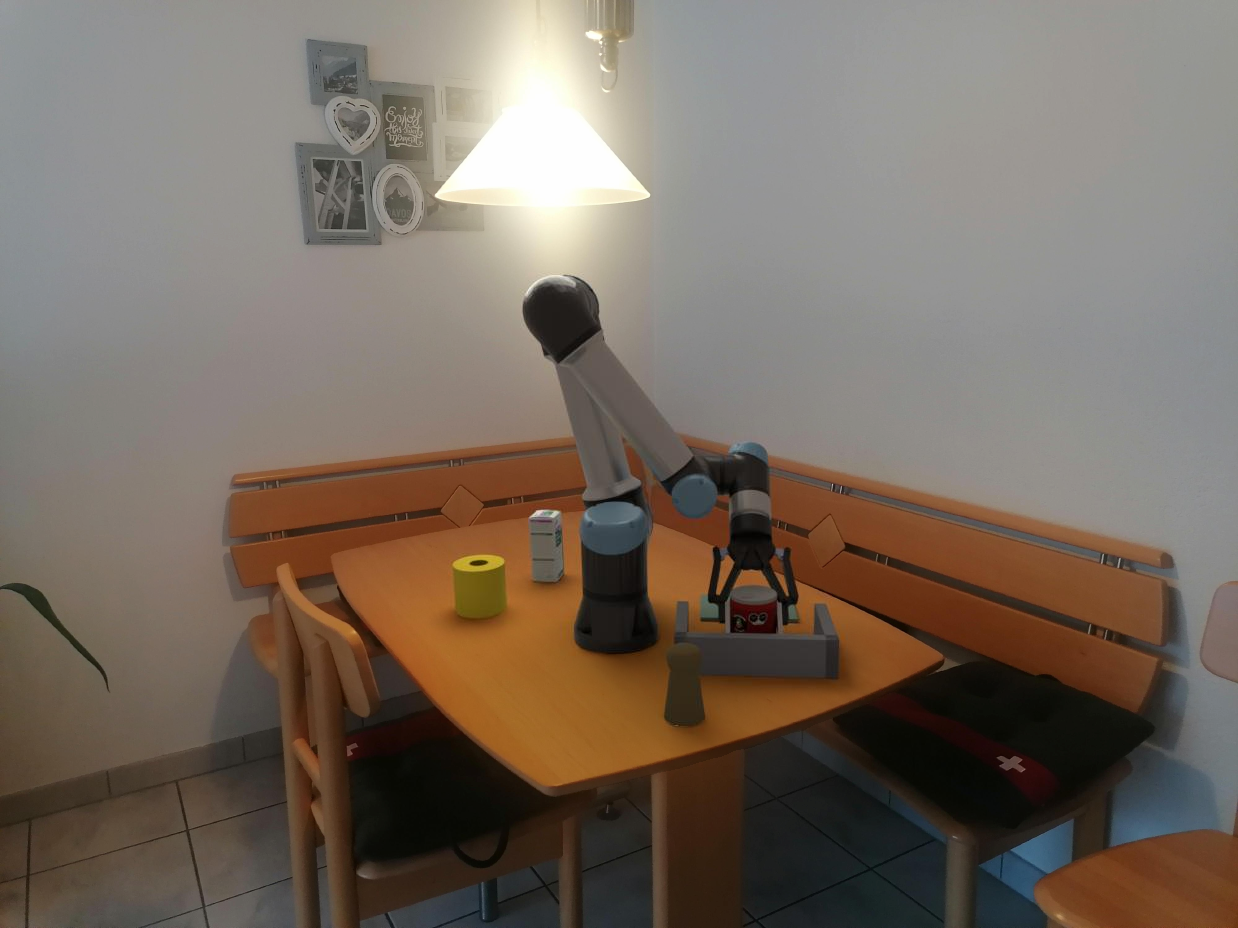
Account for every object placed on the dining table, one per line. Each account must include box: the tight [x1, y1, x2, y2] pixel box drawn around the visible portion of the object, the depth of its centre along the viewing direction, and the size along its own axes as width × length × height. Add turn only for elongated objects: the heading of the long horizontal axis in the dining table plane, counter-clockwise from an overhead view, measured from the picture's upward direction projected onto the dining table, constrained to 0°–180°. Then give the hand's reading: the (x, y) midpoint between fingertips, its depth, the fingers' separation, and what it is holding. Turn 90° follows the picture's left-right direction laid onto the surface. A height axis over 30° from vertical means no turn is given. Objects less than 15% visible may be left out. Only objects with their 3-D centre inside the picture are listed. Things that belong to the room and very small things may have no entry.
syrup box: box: [528, 509, 565, 583], centre depth 183 cm, size 6×6×14 cm
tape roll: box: [452, 554, 508, 619], centre depth 167 cm, size 10×10×9 cm
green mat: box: [699, 593, 799, 623], centre depth 164 cm, size 18×12×1 cm, turn 84°
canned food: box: [730, 584, 777, 634], centre depth 144 cm, size 8×8×11 cm
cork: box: [663, 643, 706, 727], centre depth 123 cm, size 6×6×11 cm
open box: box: [673, 600, 840, 679], centre depth 143 cm, size 26×16×6 cm, turn 84°
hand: (754, 641), depth 141 cm, fingers closed on canned food, 8 cm apart
